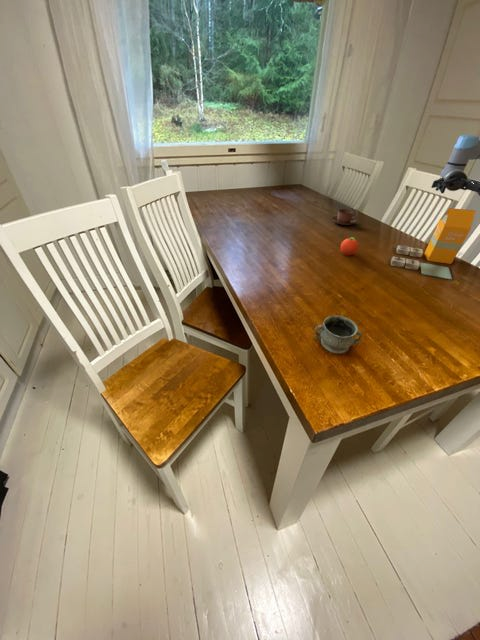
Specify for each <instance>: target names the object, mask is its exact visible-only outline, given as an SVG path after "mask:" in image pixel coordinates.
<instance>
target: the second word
mask: <svg viewBox="0 0 480 640" xmlns="http://www.w3.org/2000/svg"><path fill="white" fill-rule="evenodd" d="M390 266H392V267H393V266H394V267H399V268H405V269H409V270H414V271H418V270H419V268H420V272H421V275H424V276H429V277H435V278H441V279H445V280H451V281H452V280H453V278H452V274H451V271H450V268H449V267H447V266H442V265H437V264H431V263H425V262H420V261H419V260H416V259H411V258H405V257H400V256H394V255H393V256H392V257H391V260H390Z"/></svg>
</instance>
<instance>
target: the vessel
mask: <svg viewBox="0 0 480 640" xmlns="http://www.w3.org/2000/svg"><path fill="white" fill-rule="evenodd" d="M313 330H314V335H315V339H317V340H320V343H321V345H322V347H323V348H324V349H325V350H327V351H328V352H330V353H333V354H345V353H347V352H348V351H349V349H350V347H351V346H356V345H357V343H359V342H361V340H362V339H363V333H362V332H361V330H359V329H358V325H357V324H356V323H355V322H354V321H353V320H351V319H350V318H349V317H346V316H342V315H336V314H335V315H329V316H328V317H326V318H325V319H324V320H323V322H322V324H319V325H317V326H316V327H315V328H314V329H313ZM318 330H320V332H319V333H318ZM356 336H359V337H358V338H356Z"/></svg>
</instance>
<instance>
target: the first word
mask: <svg viewBox="0 0 480 640" xmlns="http://www.w3.org/2000/svg"><path fill="white" fill-rule="evenodd" d="M396 254H398V255H404V256H410V257H415V258H422V256H423V254H424V251H423V249H422V248H418V247H413V246H412V247H410V246H406V245H397V247H396Z"/></svg>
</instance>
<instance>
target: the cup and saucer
mask: <svg viewBox="0 0 480 640" xmlns="http://www.w3.org/2000/svg"><path fill="white" fill-rule="evenodd" d="M353 217H355V218H353ZM357 220H358V215H357V214H354V211H353V210H351V209H348V208H341V209H339V210H338V212H337V215H335V216H333V217H332V222H333V223H335V224H337V225H341V226H351V225H354V224H356V222H357Z"/></svg>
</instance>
